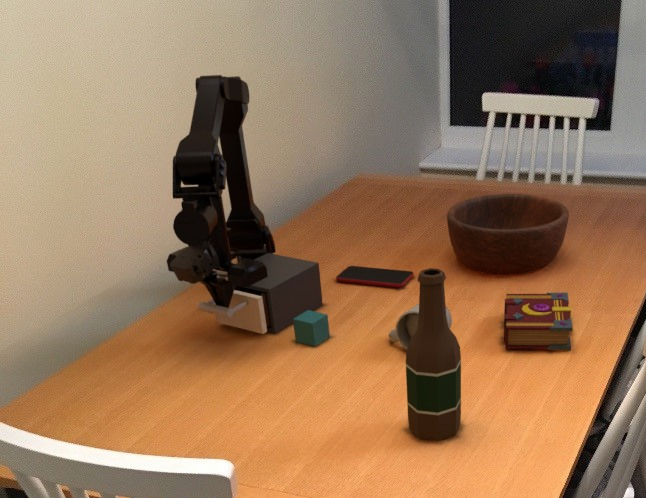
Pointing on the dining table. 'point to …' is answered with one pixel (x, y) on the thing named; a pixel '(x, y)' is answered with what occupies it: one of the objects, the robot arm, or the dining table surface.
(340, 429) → the dining table surface
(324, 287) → the dining table surface
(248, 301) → the drawer
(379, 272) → the smartphone
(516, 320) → the decorative book
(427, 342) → the beer bottle
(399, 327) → the ceramic mug
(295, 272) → the cabinet
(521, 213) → the wooden bowl
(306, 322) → the block
